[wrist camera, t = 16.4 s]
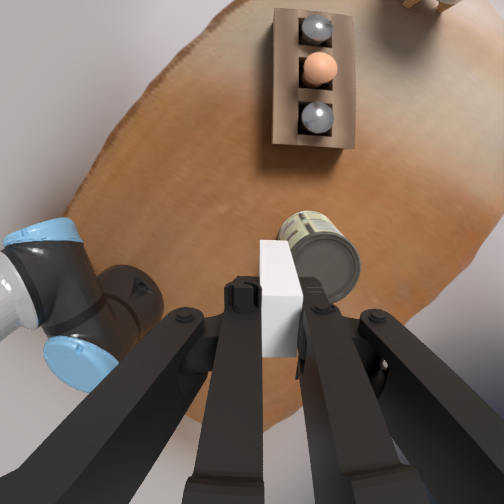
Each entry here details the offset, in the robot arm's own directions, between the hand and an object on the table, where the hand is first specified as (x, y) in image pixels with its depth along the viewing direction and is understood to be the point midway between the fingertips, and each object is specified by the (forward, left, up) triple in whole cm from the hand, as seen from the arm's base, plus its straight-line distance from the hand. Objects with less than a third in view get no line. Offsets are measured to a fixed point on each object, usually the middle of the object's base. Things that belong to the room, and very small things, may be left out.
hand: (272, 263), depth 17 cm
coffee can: (+8, -9, -35) cm, 37 cm away
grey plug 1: (+7, +25, -33) cm, 42 cm away
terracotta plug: (+7, +18, -32) cm, 37 cm away
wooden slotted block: (+7, +18, -34) cm, 39 cm away
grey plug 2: (+7, +11, -33) cm, 36 cm away
